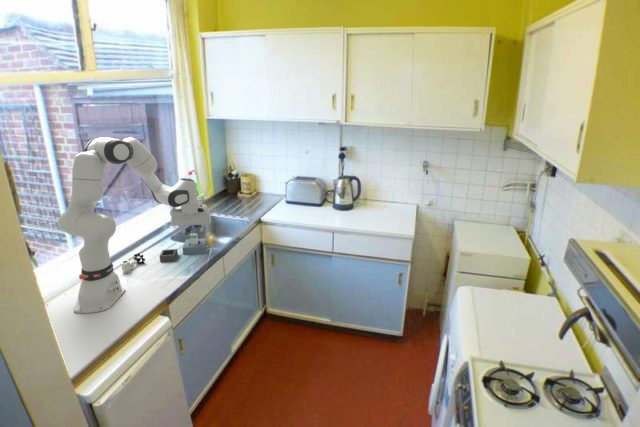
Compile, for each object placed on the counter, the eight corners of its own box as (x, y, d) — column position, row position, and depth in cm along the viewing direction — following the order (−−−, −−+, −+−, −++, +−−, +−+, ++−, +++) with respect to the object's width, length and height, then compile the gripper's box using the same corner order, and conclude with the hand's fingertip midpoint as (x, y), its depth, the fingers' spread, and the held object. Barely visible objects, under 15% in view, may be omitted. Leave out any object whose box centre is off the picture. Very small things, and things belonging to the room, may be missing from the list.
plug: (198, 250, 213) (196, 235, 210) (191, 251, 213) (189, 236, 210) (199, 247, 217) (197, 233, 214) (192, 248, 216) (190, 233, 213)
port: (204, 254, 211) (203, 246, 209) (183, 256, 209) (182, 247, 208) (206, 246, 221) (205, 237, 219) (186, 247, 220) (185, 239, 218)
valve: (130, 276, 190) (146, 265, 200) (127, 264, 187) (144, 253, 198) (119, 274, 191) (135, 263, 202) (116, 262, 189) (133, 252, 200)
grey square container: (175, 262, 202) (174, 255, 201) (160, 264, 201) (159, 256, 200) (178, 256, 209) (177, 249, 208) (163, 257, 208) (162, 249, 207)
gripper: (168, 210, 202) (171, 235, 206) (208, 209, 205) (211, 233, 209) (170, 206, 208) (173, 230, 212) (210, 205, 210) (212, 228, 215)
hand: (192, 232), depth 211 cm, fingers open, 8 cm apart
